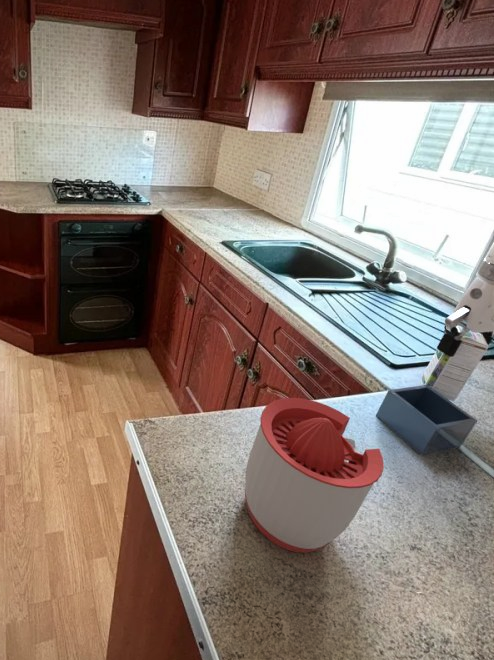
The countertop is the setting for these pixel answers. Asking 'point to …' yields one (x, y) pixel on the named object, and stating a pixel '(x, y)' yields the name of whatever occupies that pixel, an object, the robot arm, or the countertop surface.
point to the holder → (425, 419)
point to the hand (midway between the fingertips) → (459, 350)
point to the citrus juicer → (306, 474)
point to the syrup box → (455, 366)
